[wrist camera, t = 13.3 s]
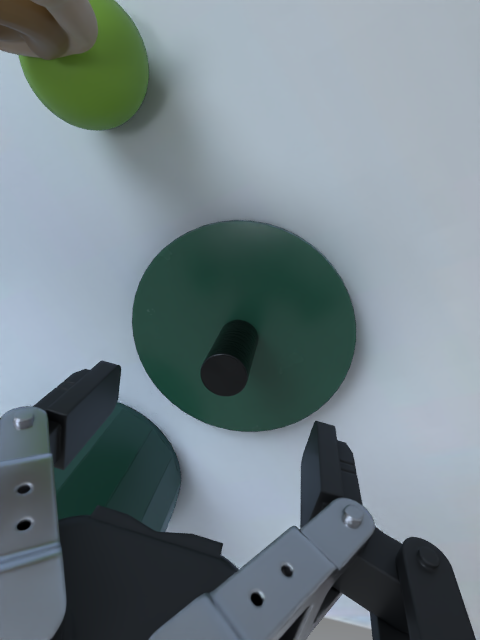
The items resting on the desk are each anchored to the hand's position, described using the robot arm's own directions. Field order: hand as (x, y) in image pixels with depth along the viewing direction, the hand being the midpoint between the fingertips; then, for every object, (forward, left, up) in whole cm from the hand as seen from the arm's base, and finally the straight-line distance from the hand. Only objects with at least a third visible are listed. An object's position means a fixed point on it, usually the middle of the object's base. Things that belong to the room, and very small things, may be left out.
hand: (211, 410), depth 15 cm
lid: (0, 0, -8) cm, 8 cm away
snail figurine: (-9, +12, -9) cm, 18 cm away
